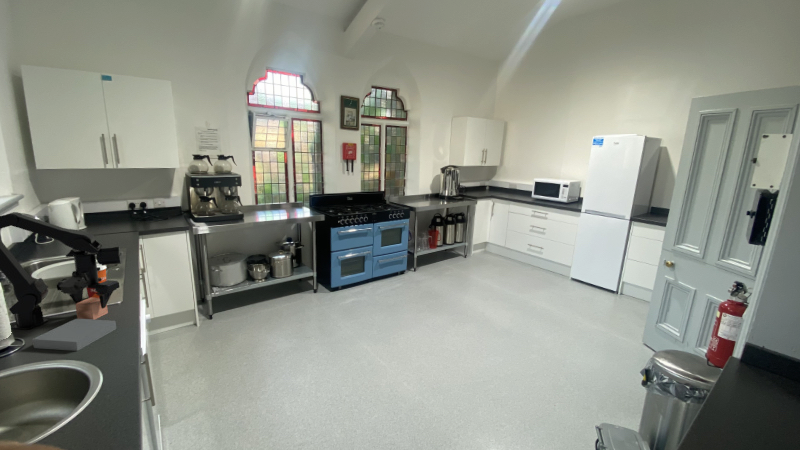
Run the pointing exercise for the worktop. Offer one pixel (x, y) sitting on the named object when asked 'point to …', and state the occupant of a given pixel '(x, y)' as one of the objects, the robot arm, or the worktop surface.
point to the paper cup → (101, 275)
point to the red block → (90, 309)
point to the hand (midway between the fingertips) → (91, 307)
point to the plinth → (74, 334)
